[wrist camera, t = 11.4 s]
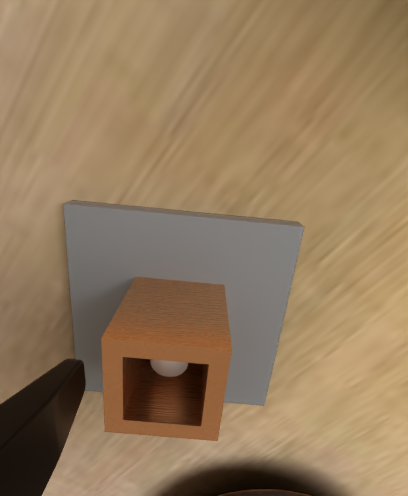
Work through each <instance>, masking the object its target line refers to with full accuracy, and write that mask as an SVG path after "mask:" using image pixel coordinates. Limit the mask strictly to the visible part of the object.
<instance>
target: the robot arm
mask: <svg viewBox="0 0 408 496" xmlns="http://www.w3.org/2000/svg"><path fill="white" fill-rule="evenodd" d="M85 386H86V380H85V368H84V362H83V361H82V360H79V359H66V360H64V361H62V362H61V363H60V364H58V365H57V366H55V367H54V368H52V369H51V370H49V371H48V372H47V373H45V374H44V375H42V376H41V377H39V378H38V379H36V380H35V381H33V382H32V383H31V384H29V385H28V386H26V387H25V388H23V389H22V390H20V391H19V392H18V393H16V394H15V395H13V396H12V397H10V398H9V399H7V400H6V401H5V402H3V403H2V404H0V496H42V494H43V492H44V490H45V488H46V485H47V483H48V481H49V479H50V477H51V475H52V473H53V471H54V469H55V467H56V464H57V462H58V460H59V458H60V456H61V453H62V450H63V448H64V445H65V443H66V440H67V437H68V435H69V432H70V429H71V427H72V424H73V421H74V418H75V416H76V413H77V410H78V408H79V405H80V402H81V400H82V397H83V394H84V391H85Z"/></svg>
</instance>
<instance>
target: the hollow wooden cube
mask: <svg viewBox="0 0 408 496" xmlns="http://www.w3.org/2000/svg"><path fill="white" fill-rule="evenodd" d="M101 343H102V370H103V396H104V423H105V432H115V433H127V434H139V435H151V436H163V437H175V438H187V439H199V440H212V441H218V435H219V429H220V422H221V416H222V410H223V403H224V397H225V391H226V384H227V378H228V372H229V365H230V359H231V353H232V345H231V337H230V328H229V319H228V310H227V302H226V293H225V285H222V284H211V283H200V282H189V281H178V280H167V279H157V278H146V277H135V279H134V281H133V283H132V284H131V286H130V288H129V290H128V292H127V293H126V295H125V297H124V299H123V300H122V302H121V304H120V306H119V308H118V309H117V311H116V313H115V315H114V316H113V318H112V320H111V322H110V324H109V325H108V327H107V329H106V331H105V332H104V334H103V336H102V338H101ZM151 359H153V360H164V361H176V362H187V363H188V366H187V369H186V370H185V371H184V372H183V373H182V374H180V375H178V376H174V377H166V376H163V375H160V374H158V373H157V372H156V371H155V370H154V369H153V368H152V366H151V362H150V360H151Z"/></svg>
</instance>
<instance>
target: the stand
mask: <svg viewBox="0 0 408 496" xmlns="http://www.w3.org/2000/svg"><path fill="white" fill-rule="evenodd" d="M63 207H64V220H65V232H66V245H67V258H68V271H69V283H70V296H71V309H72V321H73V334H74V347H75V359H79V360H82V361H83V362H84V368H85V380H86V386H85V391H97V392H103V370H102V343H101V338H102V336H103V334H104V332H105V331H106V329H107V327H108V325H109V324H110V322H111V320H112V318H113V316H114V315H115V313H116V311H117V309H118V308H119V306H120V304H121V302H122V300H123V299H124V297H125V295H126V293H127V292H128V290H129V288H130V286H131V284H132V283H133V281H134V279H135V277H146V278H157V279H167V280H178V281H189V282H200V283H211V284H222V285H225V293H226V302H227V310H228V319H229V328H230V337H231V345H232V353H231V359H230V365H229V372H228V378H227V384H226V391H225V397H224V402H227V403H239V404H250V405H262V406H264V405H265V400H266V396H267V391H268V387H269V382H270V378H271V374H272V369H273V365H274V360H275V356H276V351H277V347H278V342H279V338H280V333H281V329H282V325H283V320H284V316H285V311H286V307H287V302H288V298H289V293H290V289H291V284H292V280H293V275H294V271H295V267H296V262H297V258H298V253H299V249H300V244H301V240H302V235H303V231H304V226H303V225H301V224H300V223H299V222H294V221H284V220H274V219H263V218H253V217H242V216H232V215H221V214H211V213H201V212H190V211H180V210H169V209H159V208H148V207H138V206H128V205H117V204H107V203H96V202H86V201H75V200H72V201H70V202H67V203H64V204H63ZM150 362H151V366H152V368H153V369H154V370H155V371H156V372H157V373H158V374H160V375H163V376H166V377H174V376H178V375H180V374H182V373H183V372H184V371H185V370H186V369H187V366H188V363H187V362H176V361H164V360H153V359H151V360H150Z"/></svg>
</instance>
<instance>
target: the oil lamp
mask: <svg viewBox="0 0 408 496" xmlns="http://www.w3.org/2000/svg"><path fill="white" fill-rule="evenodd" d="M219 496H310V495H307V494H302V493H298V492H292V491H285V490H274V489H255V490H243V491H237V492H232V493H227V494H223V495H219Z"/></svg>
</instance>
